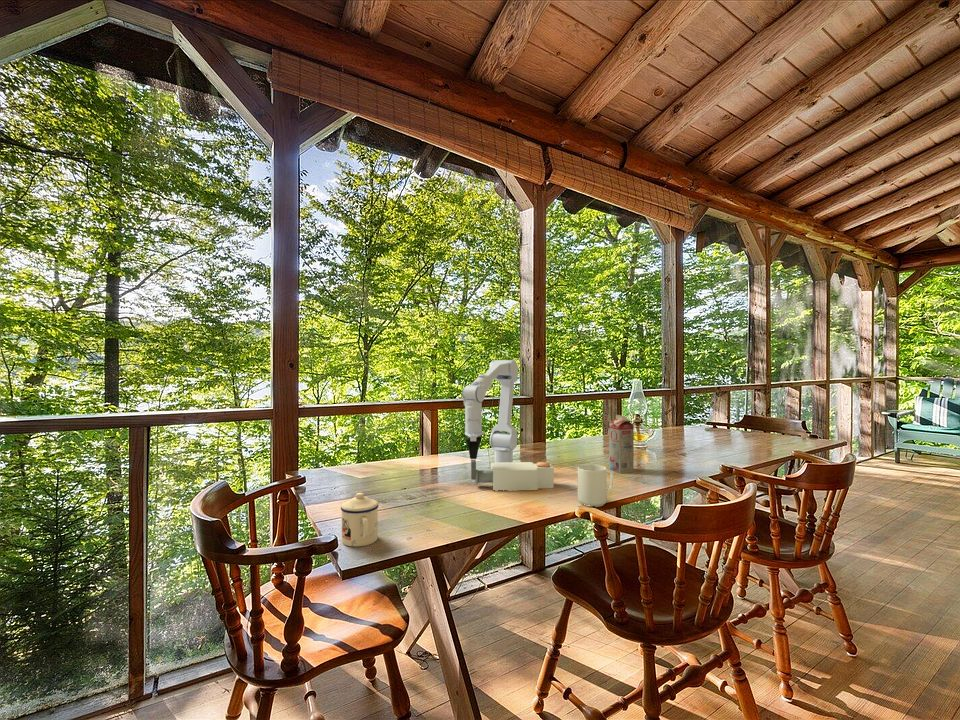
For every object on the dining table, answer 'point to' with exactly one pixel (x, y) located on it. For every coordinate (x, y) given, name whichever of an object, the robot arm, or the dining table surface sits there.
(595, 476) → the mug
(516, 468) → the button housing
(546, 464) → the plunger button
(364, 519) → the teacup with lid
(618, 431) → the juice carton
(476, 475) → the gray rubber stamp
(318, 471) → the dining table surface
